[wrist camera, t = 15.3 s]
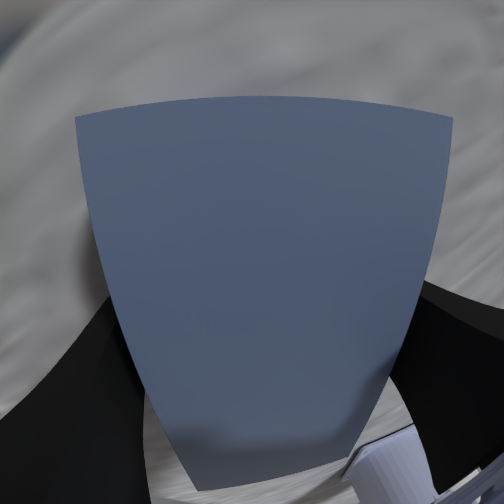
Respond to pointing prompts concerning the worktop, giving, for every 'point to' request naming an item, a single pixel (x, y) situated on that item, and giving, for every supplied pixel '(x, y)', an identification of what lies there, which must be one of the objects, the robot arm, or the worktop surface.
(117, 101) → the worktop surface
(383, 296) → the slate blue block
